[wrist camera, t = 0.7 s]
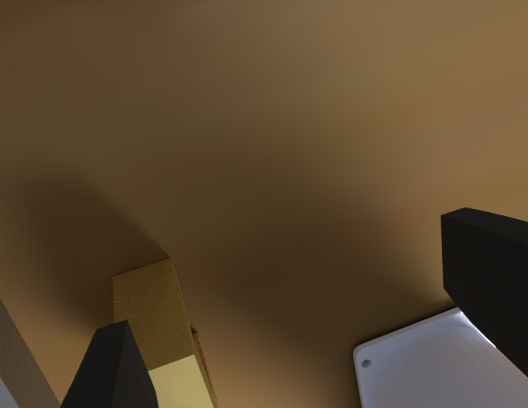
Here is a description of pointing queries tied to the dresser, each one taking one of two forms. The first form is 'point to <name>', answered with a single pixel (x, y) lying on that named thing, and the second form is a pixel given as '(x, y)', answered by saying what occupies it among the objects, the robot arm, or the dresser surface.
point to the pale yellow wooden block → (164, 335)
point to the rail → (20, 371)
